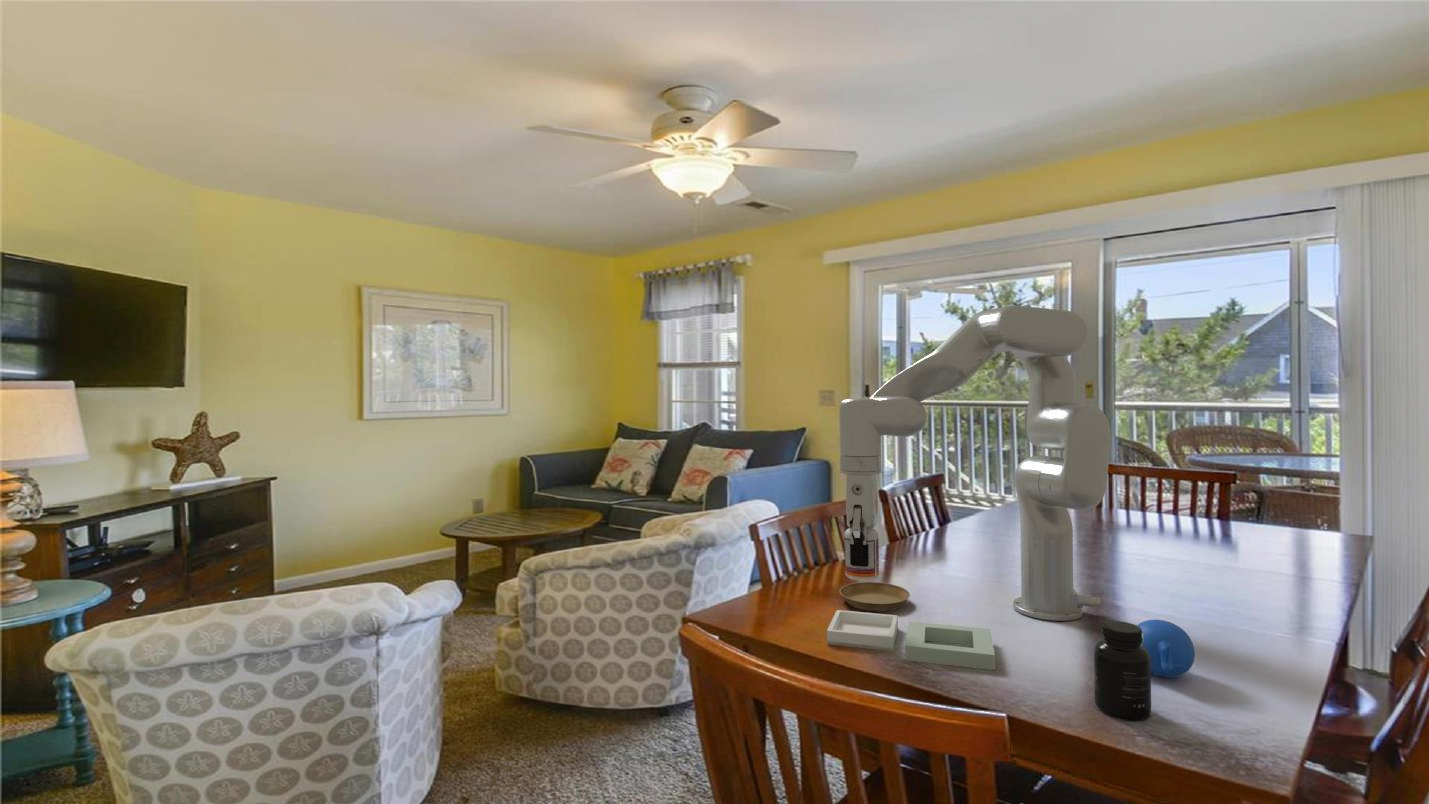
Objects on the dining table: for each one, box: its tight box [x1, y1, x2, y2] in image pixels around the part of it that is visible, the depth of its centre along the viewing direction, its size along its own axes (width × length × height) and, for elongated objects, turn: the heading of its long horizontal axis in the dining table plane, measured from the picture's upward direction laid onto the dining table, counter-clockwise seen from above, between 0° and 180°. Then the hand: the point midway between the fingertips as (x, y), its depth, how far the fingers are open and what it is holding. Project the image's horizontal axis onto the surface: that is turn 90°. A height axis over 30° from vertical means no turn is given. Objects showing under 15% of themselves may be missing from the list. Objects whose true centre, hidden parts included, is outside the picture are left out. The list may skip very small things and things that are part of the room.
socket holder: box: [904, 621, 996, 671], centre depth 114 cm, size 14×12×2 cm
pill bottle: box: [844, 520, 880, 582], centre depth 122 cm, size 6×6×11 cm
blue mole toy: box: [1136, 619, 1196, 678], centre depth 104 cm, size 12×12×8 cm
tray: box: [826, 609, 899, 652], centre depth 122 cm, size 12×12×2 cm
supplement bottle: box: [1093, 620, 1152, 722], centre depth 92 cm, size 7×7×12 cm
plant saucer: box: [839, 581, 911, 612], centre depth 141 cm, size 15×15×3 cm
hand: (861, 560), depth 122 cm, fingers closed on pill bottle, 6 cm apart
